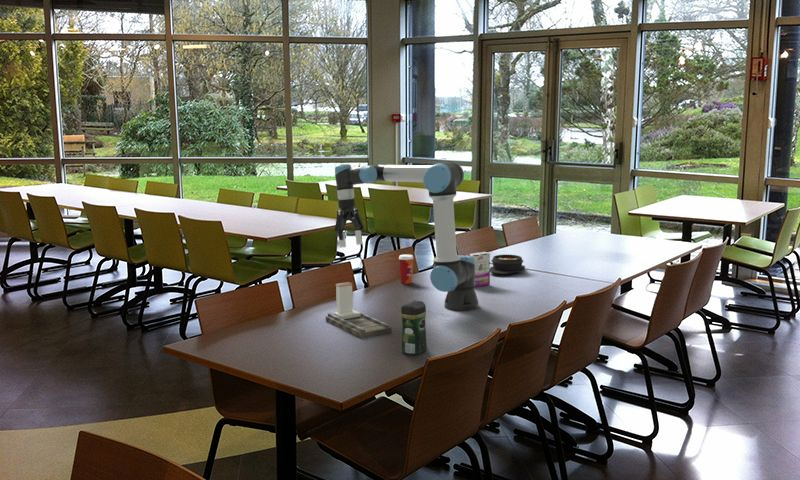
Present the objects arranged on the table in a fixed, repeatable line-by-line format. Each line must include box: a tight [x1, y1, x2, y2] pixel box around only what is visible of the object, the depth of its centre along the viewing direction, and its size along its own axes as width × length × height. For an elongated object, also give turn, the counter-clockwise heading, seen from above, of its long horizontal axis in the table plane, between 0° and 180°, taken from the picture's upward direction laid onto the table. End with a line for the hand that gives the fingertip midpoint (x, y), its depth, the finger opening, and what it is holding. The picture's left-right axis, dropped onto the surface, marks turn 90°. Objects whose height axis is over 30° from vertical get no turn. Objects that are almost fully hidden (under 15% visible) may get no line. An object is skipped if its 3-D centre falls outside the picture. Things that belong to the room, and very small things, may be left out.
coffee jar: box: [400, 300, 428, 355], centre depth 285 cm, size 10×8×19 cm
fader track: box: [325, 308, 393, 339], centre depth 319 cm, size 30×14×3 cm, turn 32°
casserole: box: [490, 254, 526, 275], centre depth 417 cm, size 25×19×8 cm
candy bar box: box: [465, 251, 491, 288], centre depth 386 cm, size 11×5×16 cm, turn 117°
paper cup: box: [398, 254, 414, 285], centre depth 395 cm, size 8×8×14 cm
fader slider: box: [333, 281, 362, 319], centre depth 325 cm, size 7×9×14 cm
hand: (351, 245), depth 354 cm, fingers open, 13 cm apart
